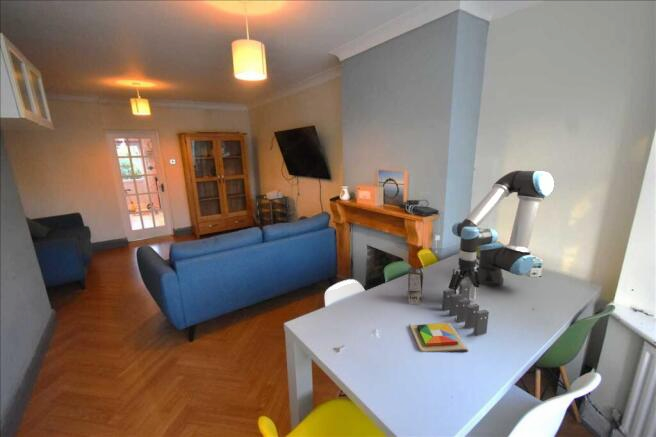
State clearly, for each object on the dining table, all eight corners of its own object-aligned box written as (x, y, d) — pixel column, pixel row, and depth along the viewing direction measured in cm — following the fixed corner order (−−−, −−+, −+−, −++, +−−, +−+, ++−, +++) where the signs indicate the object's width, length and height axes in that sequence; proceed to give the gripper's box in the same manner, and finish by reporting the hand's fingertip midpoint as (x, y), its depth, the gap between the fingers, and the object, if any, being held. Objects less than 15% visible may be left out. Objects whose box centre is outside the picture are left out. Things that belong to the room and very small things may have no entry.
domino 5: (464, 326, 124) (466, 305, 122) (473, 324, 126) (476, 303, 124) (468, 329, 123) (470, 307, 120) (477, 326, 124) (479, 306, 122)
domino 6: (473, 333, 120) (475, 311, 118) (482, 330, 121) (485, 309, 119) (477, 335, 118) (479, 314, 116) (486, 333, 119) (489, 312, 117)
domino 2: (448, 314, 134) (450, 295, 132) (457, 312, 135) (459, 293, 133) (451, 316, 132) (453, 297, 130) (460, 315, 133) (462, 295, 131)
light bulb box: (541, 277, 172) (544, 260, 169) (530, 277, 172) (532, 260, 170) (529, 270, 182) (531, 254, 180) (518, 270, 182) (520, 254, 180)
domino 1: (441, 309, 139) (443, 290, 136) (450, 307, 140) (452, 288, 138) (444, 311, 137) (446, 292, 134) (453, 309, 138) (455, 290, 136)
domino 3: (458, 302, 145) (459, 284, 142) (466, 300, 146) (467, 282, 144) (461, 304, 143) (462, 285, 141) (469, 302, 144) (470, 284, 142)
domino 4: (456, 320, 129) (458, 300, 127) (465, 318, 131) (467, 298, 128) (459, 322, 127) (461, 302, 125) (468, 320, 129) (470, 300, 126)
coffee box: (421, 305, 143) (423, 274, 139) (408, 303, 144) (409, 274, 141) (419, 296, 152) (421, 267, 148) (407, 295, 153) (408, 267, 149)
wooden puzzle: (408, 326, 126) (408, 319, 125) (451, 326, 126) (452, 319, 125) (419, 353, 109) (419, 345, 108) (469, 353, 108) (470, 345, 108)
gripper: (480, 253, 146) (476, 293, 151) (442, 258, 140) (439, 299, 145) (492, 258, 139) (487, 299, 144) (453, 264, 133) (449, 307, 137)
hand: (463, 299), depth 144 cm, fingers open, 10 cm apart
